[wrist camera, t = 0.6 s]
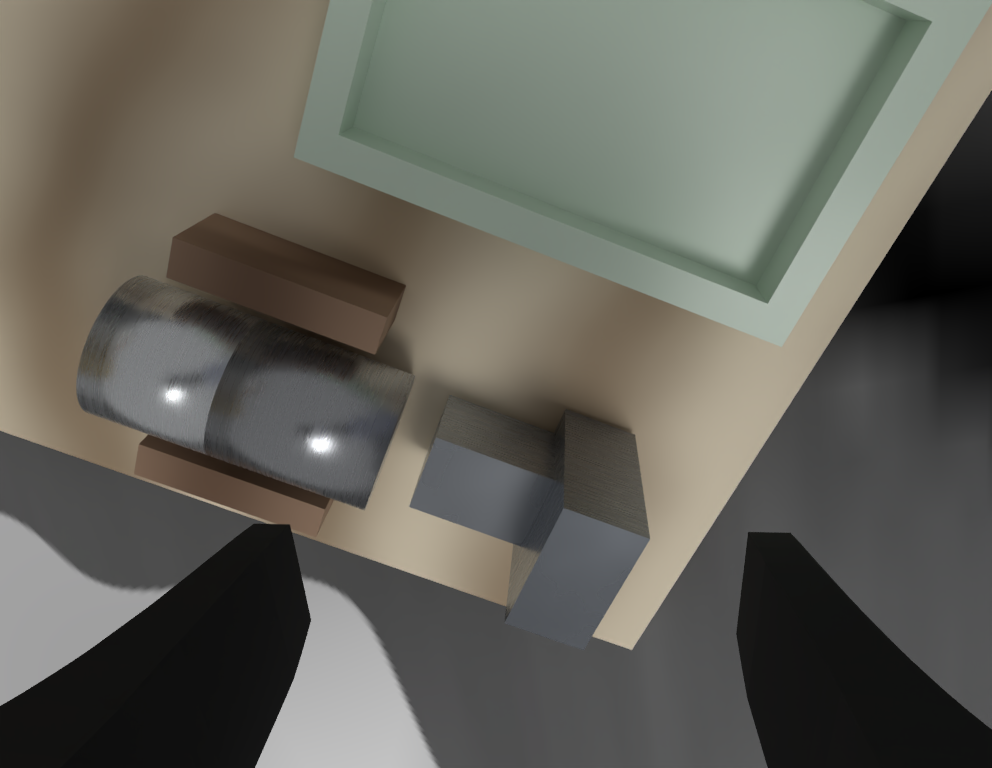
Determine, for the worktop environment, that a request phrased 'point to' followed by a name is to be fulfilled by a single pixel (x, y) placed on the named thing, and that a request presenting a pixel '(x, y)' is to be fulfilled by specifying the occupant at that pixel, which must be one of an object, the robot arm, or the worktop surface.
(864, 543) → the worktop surface
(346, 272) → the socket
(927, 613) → the worktop surface
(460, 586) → the board
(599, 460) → the grey stepped block
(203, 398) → the grey cylinder
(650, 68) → the tray
